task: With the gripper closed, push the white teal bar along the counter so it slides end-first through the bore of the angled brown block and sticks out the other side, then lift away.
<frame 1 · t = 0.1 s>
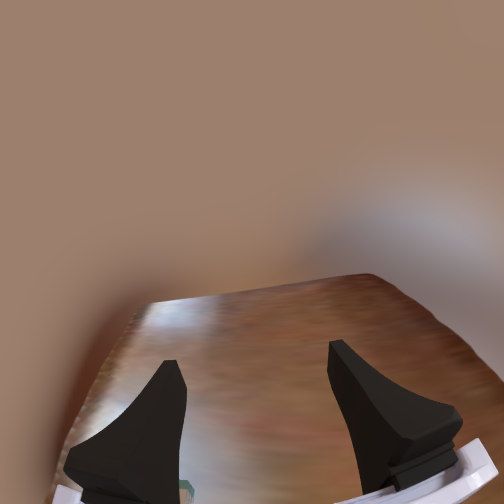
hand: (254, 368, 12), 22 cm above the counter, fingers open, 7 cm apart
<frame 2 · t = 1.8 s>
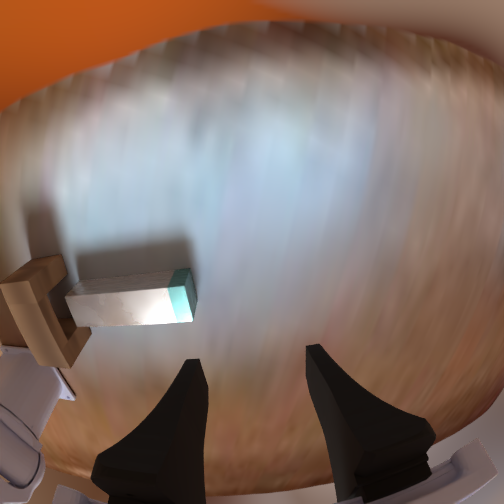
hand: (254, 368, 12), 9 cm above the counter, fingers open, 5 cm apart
white teal bar: (134, 290, 21), on the counter
angled brown block: (60, 297, 21), on the counter
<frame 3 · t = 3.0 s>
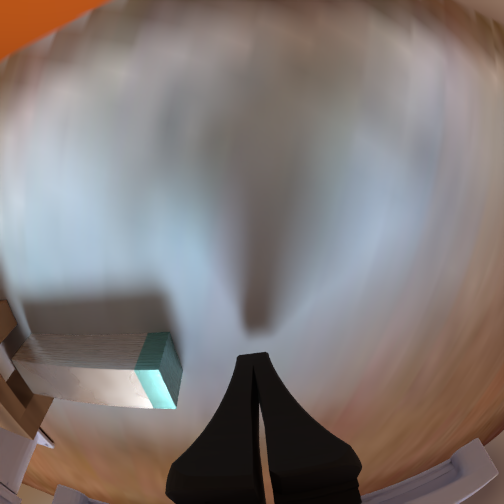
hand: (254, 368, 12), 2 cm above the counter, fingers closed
white teal bar: (97, 353, 14), on the counter
angled brown block: (15, 349, 14), on the counter
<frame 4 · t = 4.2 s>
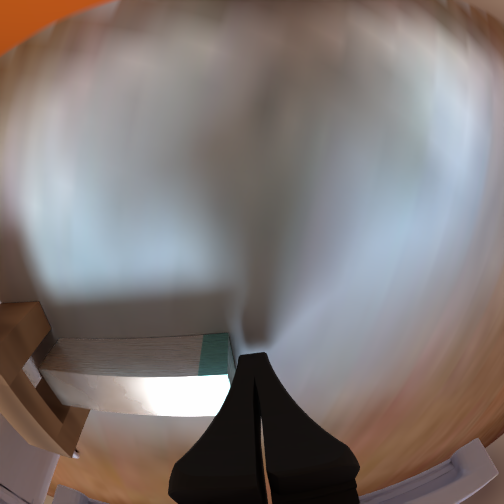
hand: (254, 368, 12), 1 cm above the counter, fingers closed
white teal bar: (139, 358, 13), on the counter, touching gripper
angled brown block: (45, 356, 13), on the counter
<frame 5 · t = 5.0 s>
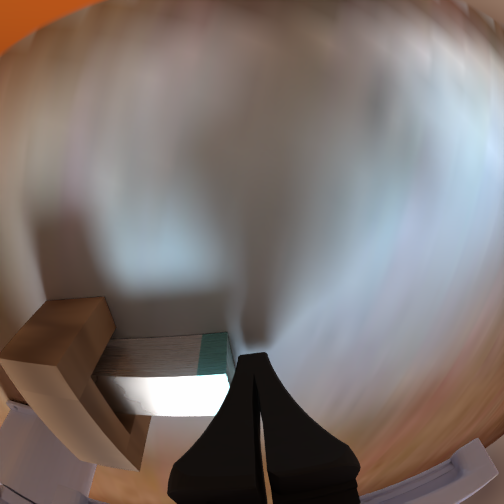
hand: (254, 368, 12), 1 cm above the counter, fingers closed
white teal bar: (139, 359, 13), on the counter, touching gripper
angled brown block: (100, 359, 13), on the counter
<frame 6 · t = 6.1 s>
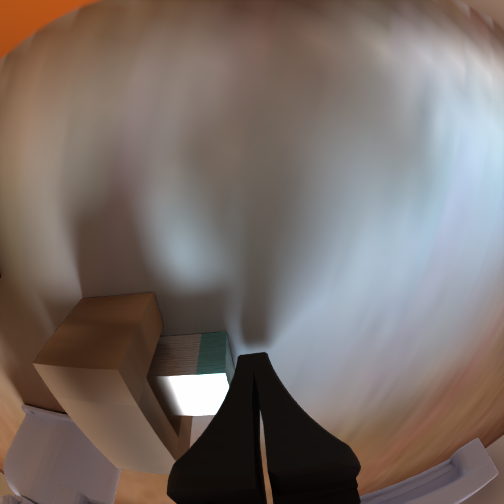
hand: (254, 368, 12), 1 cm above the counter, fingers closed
white teal bar: (138, 358, 13), on the counter, touching gripper
angled brown block: (140, 359, 13), on the counter
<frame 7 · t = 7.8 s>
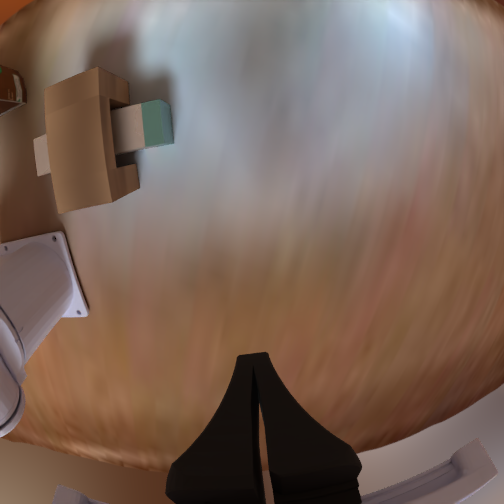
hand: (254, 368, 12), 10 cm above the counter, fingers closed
white teal bar: (107, 138, 17), on the counter
angled brown block: (107, 139, 17), on the counter
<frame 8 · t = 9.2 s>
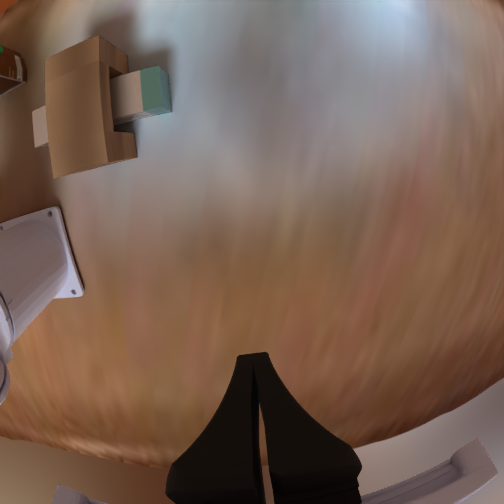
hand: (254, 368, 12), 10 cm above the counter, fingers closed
white teal bar: (105, 110, 16), on the counter
angled brown block: (106, 111, 16), on the counter
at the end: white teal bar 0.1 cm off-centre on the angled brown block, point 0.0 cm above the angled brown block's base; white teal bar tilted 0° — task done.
